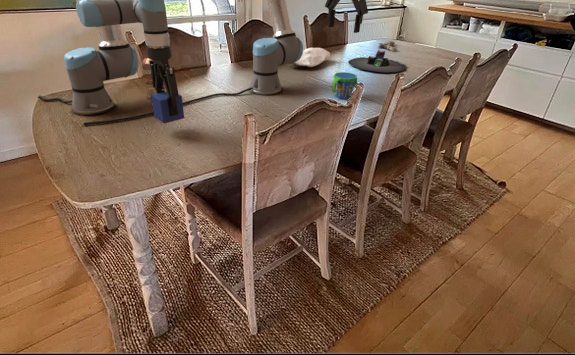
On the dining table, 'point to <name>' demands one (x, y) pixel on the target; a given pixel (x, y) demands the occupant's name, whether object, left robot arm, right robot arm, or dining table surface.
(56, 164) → the dining table surface
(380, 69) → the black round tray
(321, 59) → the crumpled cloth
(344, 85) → the snack cup
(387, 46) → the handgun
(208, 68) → the dining table surface
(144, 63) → the candy box
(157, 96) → the blue cube
